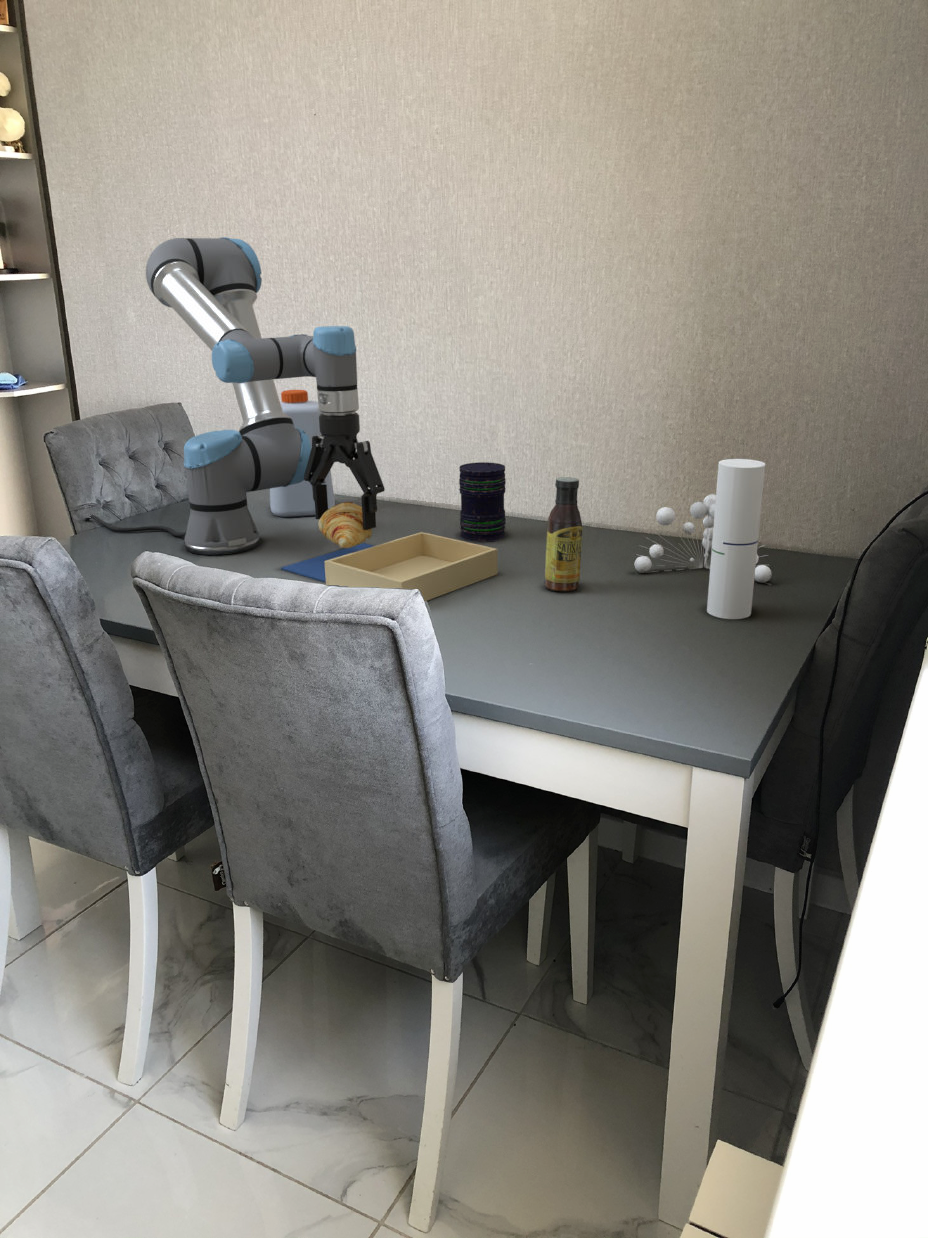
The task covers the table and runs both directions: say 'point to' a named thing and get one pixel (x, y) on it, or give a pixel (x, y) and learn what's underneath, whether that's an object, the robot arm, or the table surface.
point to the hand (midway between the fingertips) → (345, 523)
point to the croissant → (344, 525)
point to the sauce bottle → (564, 538)
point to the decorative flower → (698, 512)
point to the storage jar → (482, 501)
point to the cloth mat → (320, 563)
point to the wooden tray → (415, 565)
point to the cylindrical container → (735, 537)
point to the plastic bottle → (306, 417)
